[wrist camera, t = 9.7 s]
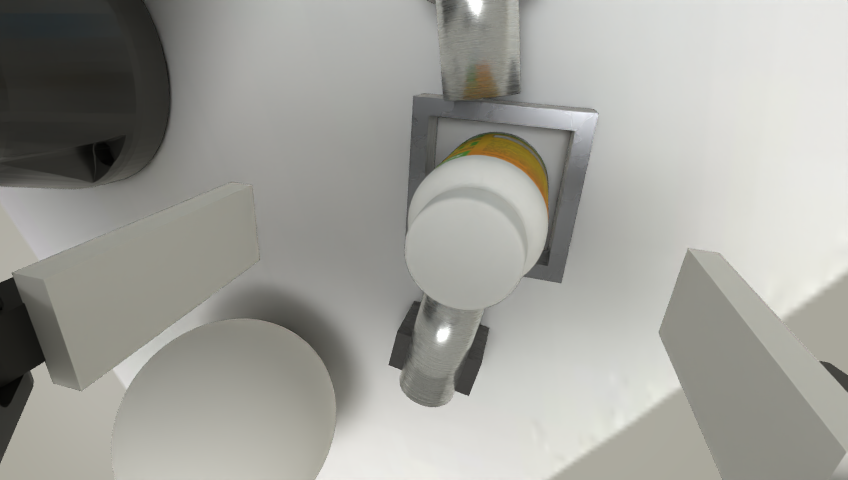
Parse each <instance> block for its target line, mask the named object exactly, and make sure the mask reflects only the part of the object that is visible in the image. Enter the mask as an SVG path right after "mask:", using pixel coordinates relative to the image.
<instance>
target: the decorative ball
mask: <svg viewBox="0 0 848 480" xmlns="http://www.w3.org/2000/svg"><path fill="white" fill-rule="evenodd" d="M335 424H336V400H335V393H334V388H333V385H332V381H331V378H330V376H329V373H328V371H327V369H326V367H325V365H324V363H323V361H322V360H321V358H320V357H319V355H318V354H317V353H316V352H315V350H314V349H313V348H312V347H311V346H310V345H309V344H308V343H307V342H306V341H305V340H303V339H302V338H301V337H300V336H298V335H297V334H295V333H294V332H292V331H290V330H288V329H286V328H284V327H282V326H280V325H277V324H274V323H271V322H267V321H262V320H256V319H228V320H221V321H216V322H212V323H209V324H206V325H203V326H200V327H197V328H195V329H193V330H190V331H188V332H186V333H184V334H182V335H181V336H179V337H177V338H176V339H174V340H173V341H171V342H170V343H168V344H167V345H166V346H164V347H163V348H162V349H160V350H159V351H158V352H157V353H156V354H155V355H154V356H153V357H152V358H151V359H150V360H149V361H148V362H147V363H146V364H145V365H144V366H143V367H142V369H141V370H140V371H139V372H138V374H137V375H136V376H135V378H134V379H133V381H132V382H131V384H130V386H129V387H128V389H127V391H126V393H125V395H124V397H123V400H122V401H121V404H120V406H119V409H118V412H117V415H116V418H115V423H114V427H113V432H112V440H111V454H112V465H113V471H114V476H115V480H315V478H316V477H317V475H318V474H319V472H320V470H321V468H322V466H323V464H324V462H325V460H326V458H327V455H328V453H329V450H330V447H331V444H332V440H333V436H334V431H335Z"/></svg>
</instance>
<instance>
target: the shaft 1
mask: <svg viewBox="0 0 848 480" xmlns="http://www.w3.org/2000/svg"><path fill="white" fill-rule="evenodd" d="M428 1H429V2H431V3H433V4H436V12H437V24H438V37H439V49H440V62H441V74H442V86H443V99H444V101H456V100H471V99H482V98H491V97H500V96H507V95H513V94H518V93H521V86H520V35H519V0H428Z"/></svg>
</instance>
